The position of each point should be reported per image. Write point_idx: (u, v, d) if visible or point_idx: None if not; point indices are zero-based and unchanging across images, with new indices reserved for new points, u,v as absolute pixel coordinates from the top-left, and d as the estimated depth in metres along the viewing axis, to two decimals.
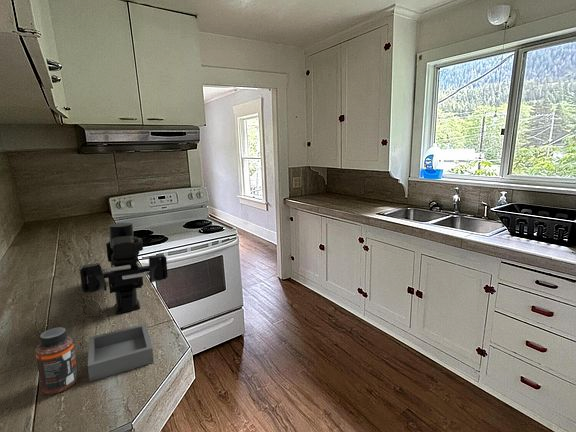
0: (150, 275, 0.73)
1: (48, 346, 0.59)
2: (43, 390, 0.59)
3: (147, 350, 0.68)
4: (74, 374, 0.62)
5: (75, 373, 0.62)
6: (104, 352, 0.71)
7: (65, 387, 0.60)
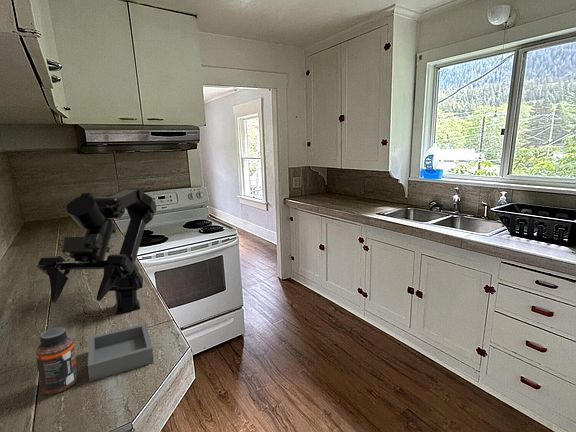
0: (98, 293, 0.69)
1: (48, 346, 0.59)
2: (43, 390, 0.59)
3: (147, 350, 0.68)
4: (74, 374, 0.62)
5: (75, 373, 0.62)
6: (104, 352, 0.71)
7: (65, 387, 0.60)
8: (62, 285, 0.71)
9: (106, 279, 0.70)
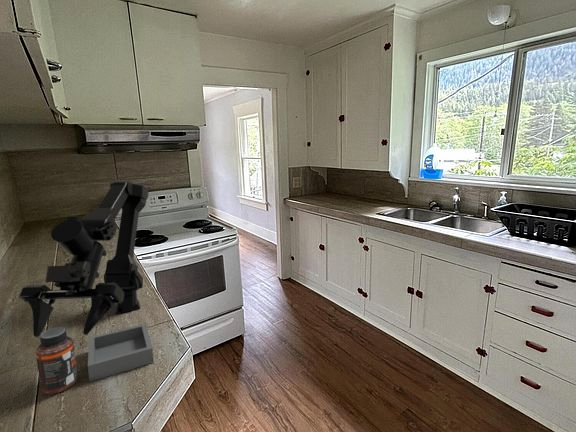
0: (85, 326, 0.63)
1: (48, 346, 0.59)
2: (43, 390, 0.59)
3: (147, 350, 0.68)
4: (74, 374, 0.62)
5: (75, 373, 0.62)
6: (104, 352, 0.71)
7: (65, 387, 0.60)
8: (46, 317, 0.65)
9: (94, 310, 0.64)
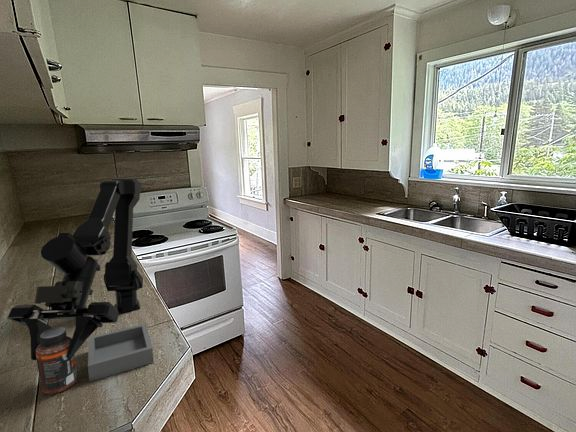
0: (69, 350, 0.60)
1: (48, 346, 0.59)
2: (43, 390, 0.59)
3: (147, 350, 0.68)
4: (74, 374, 0.62)
5: (75, 373, 0.62)
6: (104, 352, 0.71)
7: (65, 387, 0.60)
8: None
9: (78, 332, 0.61)
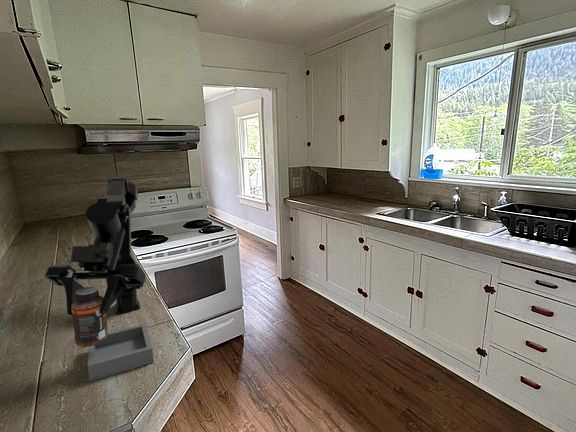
0: (102, 306, 0.64)
1: (83, 302, 0.63)
2: (77, 343, 0.64)
3: (147, 350, 0.68)
4: (105, 331, 0.66)
5: (106, 330, 0.67)
6: (104, 352, 0.71)
7: (97, 341, 0.64)
8: None
9: (110, 291, 0.65)
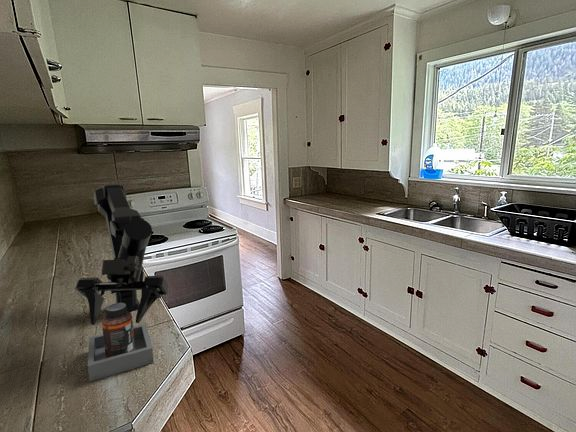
0: (137, 315, 0.69)
1: (113, 318, 0.68)
2: (108, 356, 0.68)
3: (147, 350, 0.68)
4: (133, 344, 0.71)
5: (133, 343, 0.71)
6: (104, 352, 0.71)
7: None
8: (99, 307, 0.71)
9: (144, 301, 0.70)
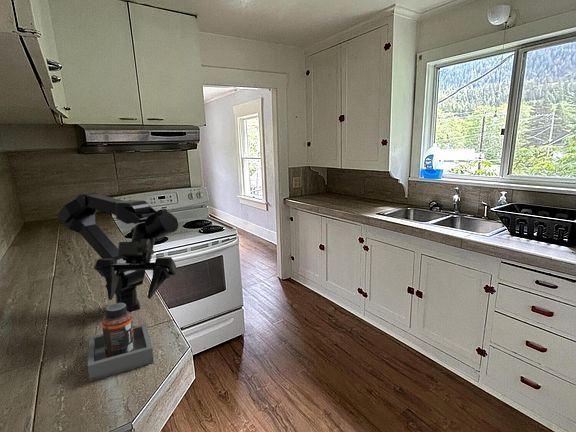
0: (149, 292, 0.77)
1: (113, 318, 0.68)
2: (108, 356, 0.68)
3: (147, 350, 0.68)
4: (133, 344, 0.71)
5: (133, 343, 0.71)
6: (104, 352, 0.71)
7: None
8: (115, 285, 0.79)
9: (155, 279, 0.78)
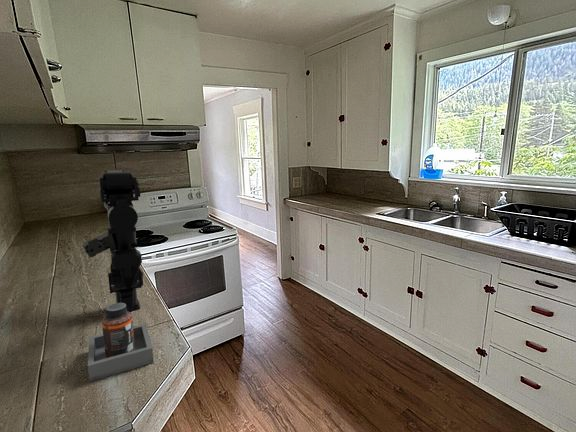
0: (124, 284, 0.76)
1: (113, 318, 0.68)
2: (108, 356, 0.68)
3: (147, 350, 0.68)
4: (133, 344, 0.71)
5: (133, 343, 0.71)
6: (104, 352, 0.71)
7: None
8: None
9: (121, 274, 0.74)
